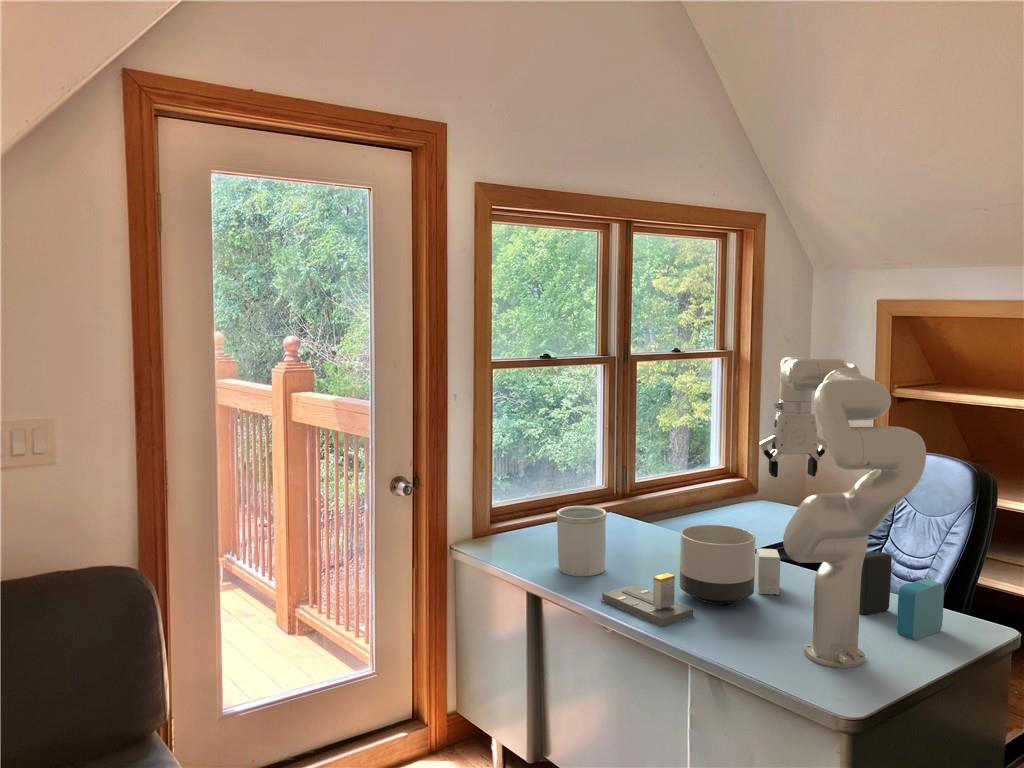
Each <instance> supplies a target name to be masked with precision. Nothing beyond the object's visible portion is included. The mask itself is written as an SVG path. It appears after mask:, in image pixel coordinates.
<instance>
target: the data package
mask: <svg viewBox="0 0 1024 768" xmlns="http://www.w3.org/2000/svg"><path fill="white" fill-rule="evenodd" d="M944 598H945V585H944V584H943V583H941V582H938V581H935V580H931V579H929V578H928V579H927V578H922V579H919V580H916V581H912V582H910V583H906V584H904V585H902V586H900V587H899V589H898V594H897V612H896V613H897V614H896V615H897V616H896V617H897V618H896V632H897V634H898V635H901V636H903V637H906V638H909V639H912V640H915V641H918V640H921V639H924V638H926V637H928V636H931V635H933V634H936V633H939V632H940V631H941V629H942V628H943V621H944V619H943V618H944Z"/></svg>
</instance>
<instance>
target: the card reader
mask: <svg viewBox="0 0 1024 768" xmlns="http://www.w3.org/2000/svg"><path fill="white" fill-rule="evenodd" d="M892 562H893V561H892V555H891V554H889V553H887V552H883V551H878V552H871V553H870V552H869V553H865V557H864V561H863V566H862V573H861V589H860V610H859V615H863V616H866V615H872V614H878V613H883V612H887V611H888V610H889V609H890V600H891V582H892V581H891V580H892V579H891V578H892Z"/></svg>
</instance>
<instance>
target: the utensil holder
mask: <svg viewBox="0 0 1024 768" xmlns="http://www.w3.org/2000/svg"><path fill="white" fill-rule="evenodd" d="M555 516H556V526H557V527H556V529H557V531H556V532H557V557H558V561H557V562H558V570H559V571H560V572H561V573H562V574H565V575H568V576H571V577H592V576H598V575H600V574H602V573H603V572H604V571H605V570H606V552H607V551H606V542H607V541H606V539H607V538H606V535H607V534H606V532H607V531H606V527H607V526H606V519H607V511H606V510H605V509H603V508H602V507H597V506H593V505H572V506H570V505H569V506H565V507H562V508H559V509H558V510H557V511H556V513H555Z"/></svg>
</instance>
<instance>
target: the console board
mask: <svg viewBox="0 0 1024 768" xmlns="http://www.w3.org/2000/svg"><path fill="white" fill-rule="evenodd" d="M601 596H602V597H601V598H602V599H601V601H602V600H604V601H603V602H605V603H607V602H608V604H609V603H610V604H609V605H611V604H613V605H612V606H614V605H615V606H614V607H616V606H617V608H618V607H620V608H619V609H621V608H622V609H621V610H623V609H624V610H623V611H625V610H627V611H629V612H628V613H630V612H632V613H633V615H634V614H636V615H635V616H637V615H638V616H637V617H639V616H640V617H639V618H641V617H642V618H641V619H643V618H644V619H643V620H647V621H648V622H651V623H653V624H656V625H658V626H660V627H662V628H663V627H666V625H667V626H670V625H672V623H673V624H676V623H678V621H679V622H682V621H685V620H688V619H691V618H694V612H695V611H694V608H692V607H690V606H687V605H684V604H682V603H679V602H676V601H675V600H674V606H670V607H667V608H664V609H661V610H660V609H658V608H655V607H653V591H650V590H647V589H644V588H642V587H639V586H637V585H634V584H630V585H628V586H627V585H626V586H624V587H620V588H616V589H613V590H609V591H605V592H602V595H601ZM627 611H626V612H627ZM632 613H631V614H632ZM687 618H688V619H687ZM684 619H685V620H684ZM675 622H676V623H675ZM669 624H670V625H669Z"/></svg>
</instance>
